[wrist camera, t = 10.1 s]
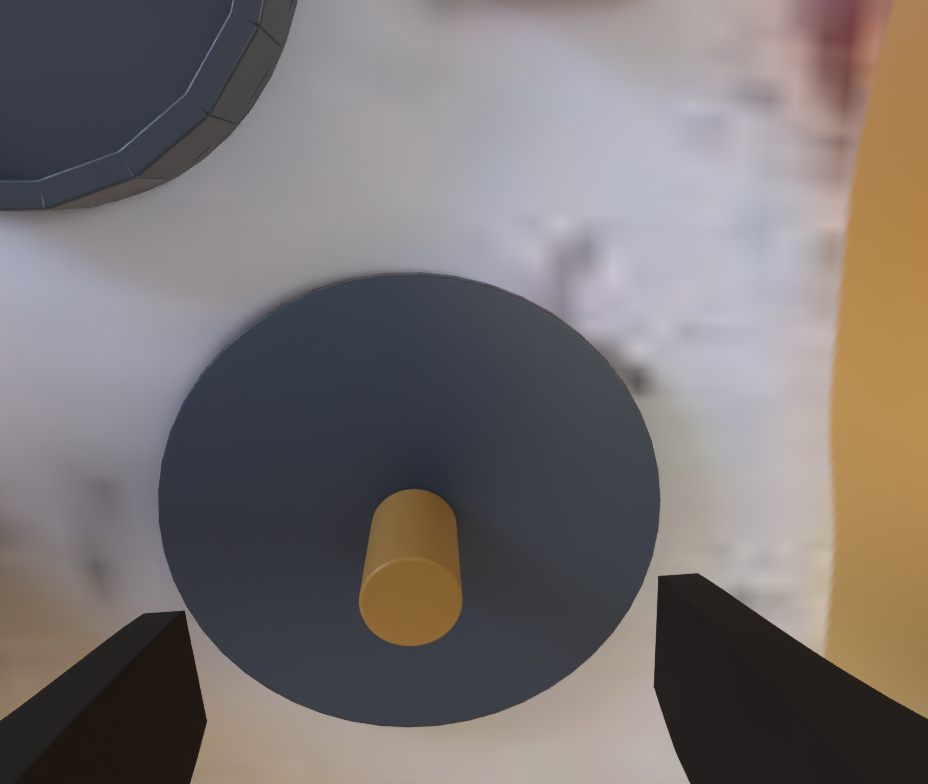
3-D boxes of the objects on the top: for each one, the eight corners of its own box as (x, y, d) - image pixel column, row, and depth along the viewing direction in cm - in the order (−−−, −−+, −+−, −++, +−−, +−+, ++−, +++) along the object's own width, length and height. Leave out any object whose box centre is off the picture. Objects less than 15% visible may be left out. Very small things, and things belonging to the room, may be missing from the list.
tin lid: (555, 737, 21) (588, 879, 17) (135, 646, 19) (51, 778, 15) (721, 353, 18) (816, 407, 13) (227, 200, 16) (153, 205, 12)
